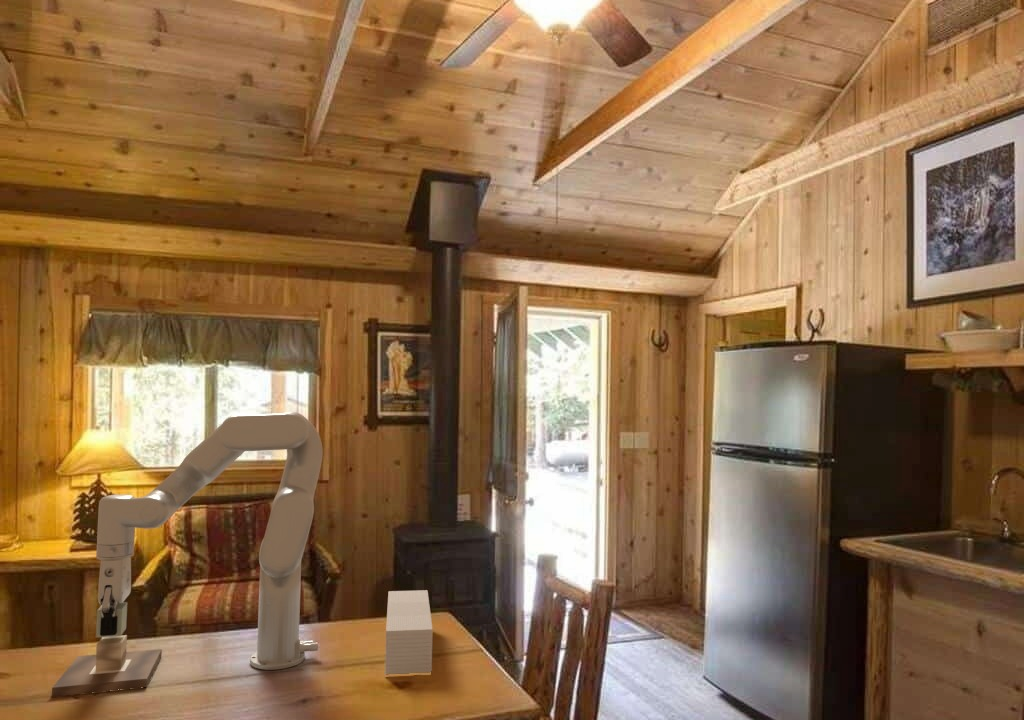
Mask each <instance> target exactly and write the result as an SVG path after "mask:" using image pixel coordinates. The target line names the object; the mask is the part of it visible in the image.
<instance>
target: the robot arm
mask: <svg viewBox="0 0 1024 720" xmlns="http://www.w3.org/2000/svg"><path fill="white" fill-rule="evenodd" d="M283 450H286V451H287V452H286V453H287V454H286V459H285V460H286V461H285V463H284V468H283V472H282V476H281V479H280V483H279V487H278V489H277V492H276V494H275V496H274V499H273V500H272V501H273V502H272V505H271V509H270V514H269V518H268V521H267V525H266V528H265V533H264V537H263V539H262V540H261V543H260V547H259V553H258V562H259V589H258V592H259V593H258V610H257V611H258V612H257V614H258V616H257V618H258V619H257V643H256V645H257V647H256V648H257V649H256V651H255V652H254V653H253V654H252V655H251V656H250V658H249V665H251V667H253V668H255V669H259V670H265V671H266V670H267V671H273V670H282V669H283V670H284V669H288V668H292V667H294V666H297V665H299V664H300V663H302V662H303V661H304V660H305V658H306V653H305V652H318V650H319V643H318V642H314V641H313V640H306V641H303V639H302V640H301V635H300V633H299V632H300V613H301V612H300V609H301V583H302V582H301V581H302V580H301V577H302V558H303V555H304V552H305V547H306V544H307V541H308V538H309V534H310V530H311V526H312V522H313V518H314V514H315V503H314V497H315V493H316V490H317V489H316V488H317V485H318V481H319V476H320V472H321V468H322V463H323V444H322V439H321V436H320V434H319V432H318V430H317V428H316V427H315V425H314V424H313V423H312V422H311V421H310V420H309V419H308V418H307V417H305V415H303V414H301V413H299V412H297V411H287V412H284V413H270V414H269V413H268V414H267V413H266V414H247V413H243V412H241V413H234V414H233V415H230V416H228V417H226V419H224V421H223V422H222V423H221V424H220V425H219V426H218V427H217V428H215V430H213V431H212V432H211V433H210V434H209V435H208V436H207V437H206V438H205V439H204V440H202V442H200V443H199V444H198V445H197V446H195V447H194V448H193V449H192V450H191V451H189V453H187V455H186V456H185V457H184V458H183V460H182V461H181V463H180V464H179V465H178V466H177V468H176V469H174V470H173V471H172V472H171V473H170V474H169V476H166V478H165V479H164V480H163V481H162V482H160V483H159V484H158V485H157V486H156V487H155V488H154V489H153V490H151V491H150V492H149V493H147V494H145V495H144V496H140V497H135V496H134V495H132V494H119V493H118V494H110V495H106V496H103V497H101V499H100V500H99V502H98V515H97V516H98V517H97V532H96V533H97V535H96V552H95V553H96V554H95V555H96V556H95V558H96V559H97V560H100V566H99V575H98V576H99V578H98V590H97V593H98V594H97V602H98V604H100V606H101V605H102V613H101V627H100V635H101V636H108V635H115V634H116V633H117V618H118V616H116V611H117V603H122V602H125V600H126V599H127V598H128V597H129V596H130V594H131V591H132V560H131V559H132V558H131V557H134V555H135V538H136V537H135V534H136V528H137V529H147V530H150V529H151V530H153V529H157V528H160V527H162V526H163V525H164V524H165V523H166V522H167V521H168V520H169V519H170V518H171V517H172V516H173V515H174V514H175V513H176V512H177V511H178V510H179V509H180V508H182V507H183V506H184V504H186V503H187V502H188V501H189V500H190V499H191V498H192V497H193V496H194V495H195V494H197V493H198V492H200V490H201V489H202V488H204V487H205V486H207V485H209V484H210V483H212V482H213V481H214V480H216V478H218V477H219V476H220V475H221V474H222V473H223V472H224V471H225V470H227V469H228V468H229V467H230V466H231V465H232V464H233V463H234V462H235V461H236V460H237V459H238V458H239V457H240V456H241V455H243V454H244V453H245V452H262V451H264V452H265V451H283ZM112 605H113V609H112V607H110V606H112Z"/></svg>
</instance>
